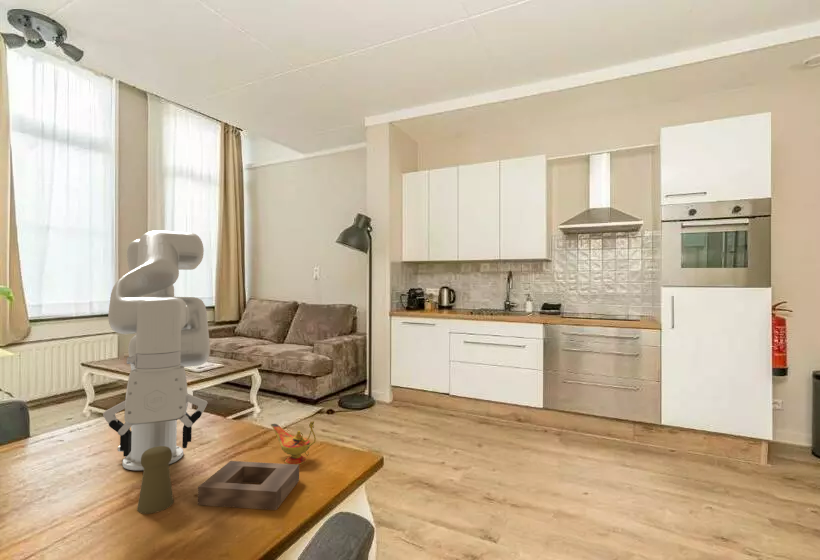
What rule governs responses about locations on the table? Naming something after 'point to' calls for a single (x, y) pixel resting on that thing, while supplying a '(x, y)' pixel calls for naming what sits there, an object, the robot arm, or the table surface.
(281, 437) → the magic lamp
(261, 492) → the shaker holder
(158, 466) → the cork
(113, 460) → the table surface
